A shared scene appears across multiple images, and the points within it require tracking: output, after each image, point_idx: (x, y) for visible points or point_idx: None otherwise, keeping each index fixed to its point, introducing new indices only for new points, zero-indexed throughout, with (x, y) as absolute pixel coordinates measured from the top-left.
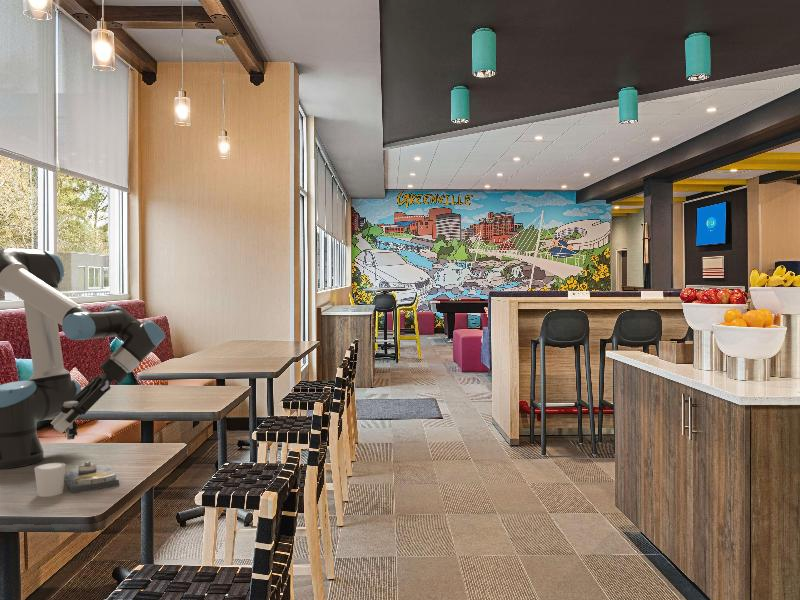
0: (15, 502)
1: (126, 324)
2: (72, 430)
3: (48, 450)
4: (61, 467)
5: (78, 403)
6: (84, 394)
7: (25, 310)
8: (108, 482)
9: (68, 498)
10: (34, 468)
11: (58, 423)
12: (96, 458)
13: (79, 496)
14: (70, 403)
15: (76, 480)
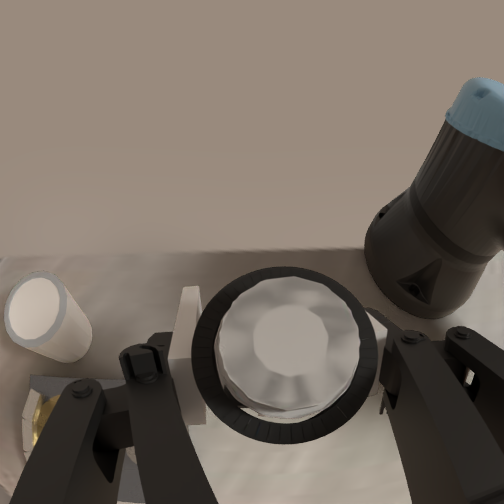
0: (55, 269)
1: None
2: (226, 390)
3: (494, 320)
4: (8, 333)
5: (178, 409)
6: (436, 459)
7: None
8: None
9: (12, 362)
10: (43, 271)
11: (180, 300)
12: (392, 461)
13: (11, 384)
14: (239, 334)
15: None
